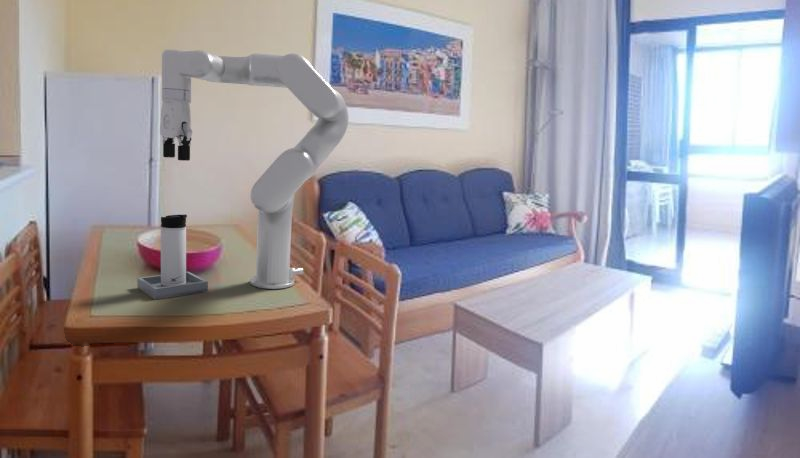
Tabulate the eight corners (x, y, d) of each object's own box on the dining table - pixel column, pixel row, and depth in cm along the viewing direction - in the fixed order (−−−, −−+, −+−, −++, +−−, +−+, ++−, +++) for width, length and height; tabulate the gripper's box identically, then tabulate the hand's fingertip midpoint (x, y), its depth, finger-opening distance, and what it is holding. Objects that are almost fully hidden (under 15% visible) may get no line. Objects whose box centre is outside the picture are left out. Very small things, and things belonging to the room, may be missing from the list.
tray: (188, 280, 161) (188, 271, 160) (207, 291, 152) (207, 281, 152) (137, 288, 151) (137, 277, 150) (155, 299, 143) (155, 289, 142)
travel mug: (178, 291, 148) (178, 216, 144) (155, 288, 149) (155, 214, 146) (191, 285, 154) (192, 213, 150) (169, 282, 155) (169, 211, 152)
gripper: (150, 95, 159) (150, 156, 162) (176, 95, 147) (176, 161, 150) (176, 97, 164) (176, 156, 167) (203, 98, 152) (203, 161, 155)
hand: (176, 158), depth 158 cm, fingers open, 9 cm apart
